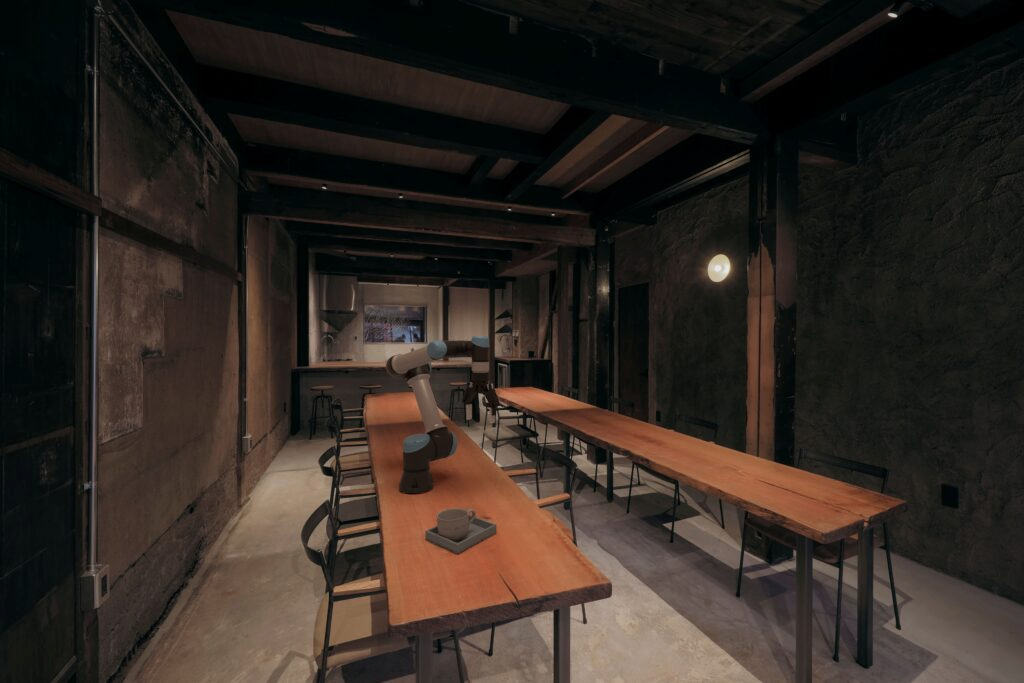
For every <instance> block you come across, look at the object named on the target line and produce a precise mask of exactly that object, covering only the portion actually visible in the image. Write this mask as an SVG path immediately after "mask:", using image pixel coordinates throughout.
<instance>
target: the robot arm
mask: <svg viewBox="0 0 1024 683" xmlns="http://www.w3.org/2000/svg"><path fill="white" fill-rule="evenodd" d="M456 358H470V359H471V371H472V372H471V381H469V382H467V383H466V389H465V391H464V394H463V397H462V400H461V403H464V405H465V409H464V410H465V412H466V418H465V419H466V421H468V420H469V421H470V420H472V419H473V404H472V402H473V400H474V398H475V396H476V395H477V394H481V395H483V396H484V397H485V399H486V401H487V402H488V405H489V406H490V407H489V424H494V423H496V415H497V407H500V406H501V403H500V399H499V397H498V395H497V391H496V389H495V388H496V387H495V384H494V383H489V381H490V372H489V371H490V337H489V336H488V335H472V336H471V340H466V339H465V340H464V339H463V340H440V339H439V340H438V339H437V340H431V341H430V342H429V343H428V344H427V345H425V346H423V347H419V348H417V349H414V350H412V351H409V352H406V353H403V354H401V353H397V354H395V355H392V356H391V357H389V358H388V359H387V361H386V363H385V370H386V372H387V373H388V375H389V376H391V377H392V378H394V379H406V382H407V384H408V385H409V386H411V388H412V391H413V394H414V398H415V400H416V404H417V407H418V410H419V413H420V416H421V419H422V422H423V426H424V429H425V432H424V433H421V432H420V433H415V434H411V435H409V436H407V437H405V438H404V440H403V443H402V475H401V478H400V481H399V484H398V489H399V490H400V491H402V492H405V493H404V494H406V493H420V494H423V493H422V492H425V493H427V492H426V491H428V492H430V491H432V490H433V489H434V488H435V486H434V480H433V476H432V473H431V471H430V469H431V468H430V464H431V463H430V462H434V461H439V460H442V459H446V458H449V457H451V456H454V454H455V453H456V451H457V448H458V438H457V436H456V433H454V432H453V431H450V430H449V427H448V426H447V425H446V424H444V423H443V420H442V417H441V413H440V411H439V407H438V405H437V402H436V399H435V395H434V393H433V390H432V386H431V383H430V380H429V379H430V378H431V373H432V370H433V369H432V368H433V365H432V363H433V362H436V361H439V360H442V359H456ZM432 488H433V489H432ZM431 489H432V490H431ZM399 490H398V491H399ZM429 490H430V491H429ZM400 491H399V492H400ZM402 492H401V493H402Z"/></svg>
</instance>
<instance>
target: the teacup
mask: <svg viewBox="0 0 1024 683" xmlns="http://www.w3.org/2000/svg"><path fill="white" fill-rule="evenodd" d="M470 513H471V515H472V517H471V518H470V520H469V515H470ZM475 517H477V512H476V510H474V509H473V508H469V509H465V508H462V507H461V508H460V507H454V508H453V507H452V508H446V509H443V510H441V511H439V512H438V513H437V514H436V524H437V525H436V526H437V528H438V533H439V535H440V536H442V537H444V538H447V539H449V540H451V541H456V540H459V539H461V538H463V537H464V535H466V534H467V532H468V529H469V524H470V523H471V522H472V521H473V520H474V519H475Z"/></svg>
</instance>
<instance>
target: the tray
mask: <svg viewBox="0 0 1024 683" xmlns="http://www.w3.org/2000/svg"><path fill="white" fill-rule="evenodd" d="M471 517H472V514H469V520H470V518H471ZM495 533H496V534H497V523H496V524H495V523H494V522H491V521H489V520H485V519H482V518H480V517H477V516H475V519H474V520H473V521H472V522H471V523H470V524H469V529H468V532H467V534H466V535H464V537H463V538H461V539H459V540H456V541H451V540H449V539H447V538H444V537H442V536H440V535H439V533H438V528H437V525H435V526H433V527H431V528H428V529H426V530H425V532H424V534H425V535H424V536H425V538H424V539H425V541H427V542H429V543H431V544H434V545H436V546H438V547H440V548H442V549H444V550H447V551H449V552H451V553H453V554H456V555H460V554H461V553H463V552H465V551H467V550H469V549H470V547H471V546H472V547H474V546H476V545H478V544H479V542H480V541H481V542H483V541H485V540H486V538H487V539H489V538H490V536H491V537H492V536H494V535H496V534H495ZM493 534H494V535H493ZM488 537H489V538H488ZM484 539H485V540H484ZM482 540H483V541H482ZM481 542H480V543H481ZM477 543H478V544H477ZM475 544H476V545H475ZM473 545H474V546H473ZM472 547H471V548H472ZM468 548H469V549H468ZM466 549H467V550H466Z"/></svg>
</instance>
